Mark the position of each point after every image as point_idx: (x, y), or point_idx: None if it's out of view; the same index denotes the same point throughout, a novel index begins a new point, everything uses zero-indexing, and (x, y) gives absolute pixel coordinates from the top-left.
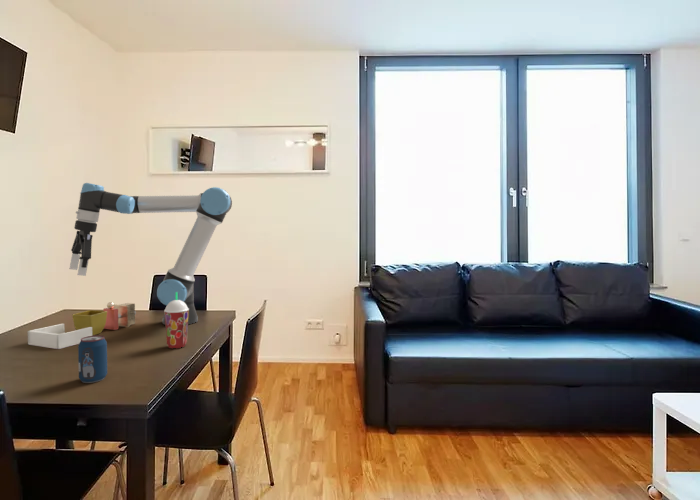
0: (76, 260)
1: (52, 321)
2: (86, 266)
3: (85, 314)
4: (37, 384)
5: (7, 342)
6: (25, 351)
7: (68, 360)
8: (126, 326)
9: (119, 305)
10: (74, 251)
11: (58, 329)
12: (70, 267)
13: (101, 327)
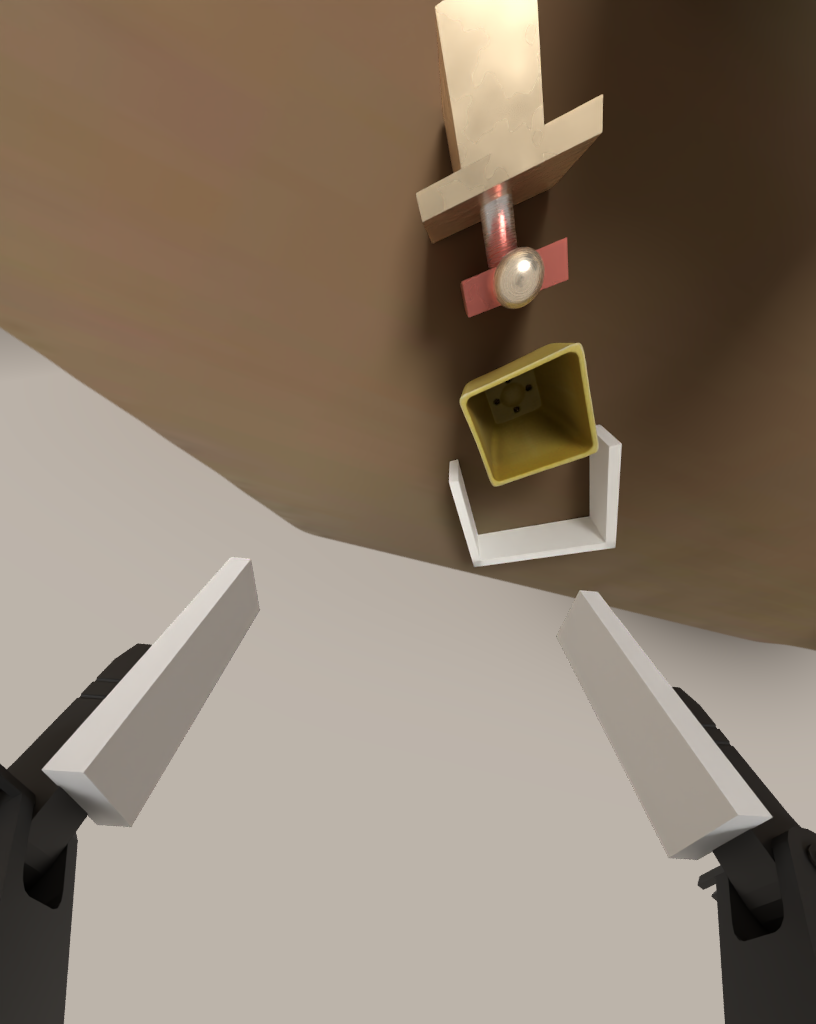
0: (186, 670)
1: (176, 401)
2: (665, 691)
3: (474, 421)
4: (807, 620)
5: (410, 555)
6: (537, 562)
7: (733, 545)
8: (543, 190)
9: (500, 177)
10: (66, 897)
11: (463, 490)
12: (250, 621)
13: (552, 365)
